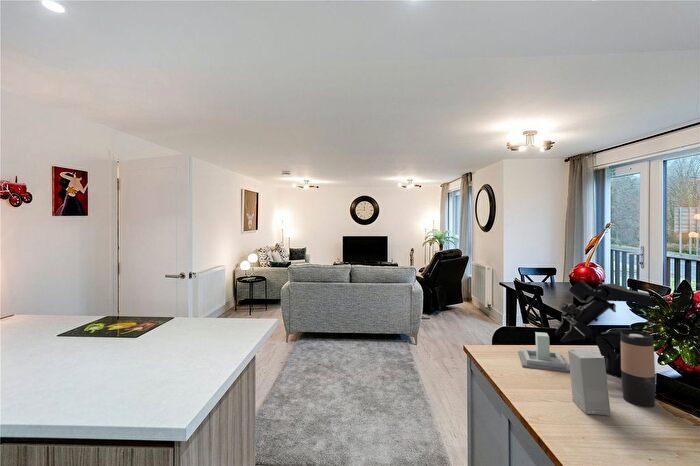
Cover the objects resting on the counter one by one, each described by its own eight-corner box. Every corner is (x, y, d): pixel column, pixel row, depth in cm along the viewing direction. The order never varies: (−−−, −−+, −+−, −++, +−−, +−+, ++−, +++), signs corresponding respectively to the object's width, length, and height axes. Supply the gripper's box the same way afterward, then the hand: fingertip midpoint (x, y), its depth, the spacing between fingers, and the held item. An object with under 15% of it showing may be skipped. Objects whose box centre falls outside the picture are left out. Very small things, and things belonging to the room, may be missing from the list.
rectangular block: (547, 358, 132) (546, 332, 132) (550, 362, 127) (549, 336, 127) (536, 357, 133) (535, 332, 133) (538, 361, 129) (537, 335, 129)
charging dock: (562, 356, 135) (561, 351, 135) (572, 372, 120) (571, 366, 120) (518, 352, 141) (518, 347, 141) (522, 367, 126) (522, 360, 126)
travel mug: (647, 396, 101) (645, 331, 101) (661, 409, 94) (659, 338, 94) (617, 393, 104) (615, 329, 104) (628, 405, 97) (626, 336, 97)
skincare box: (611, 416, 91) (609, 359, 91) (582, 414, 93) (580, 357, 93) (595, 401, 99) (593, 348, 100) (568, 399, 101) (567, 347, 101)
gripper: (567, 290, 135) (537, 316, 139) (581, 299, 117) (546, 328, 121) (590, 311, 132) (559, 336, 136) (608, 323, 115) (572, 352, 118)
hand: (558, 337), depth 128 cm, fingers open, 9 cm apart
